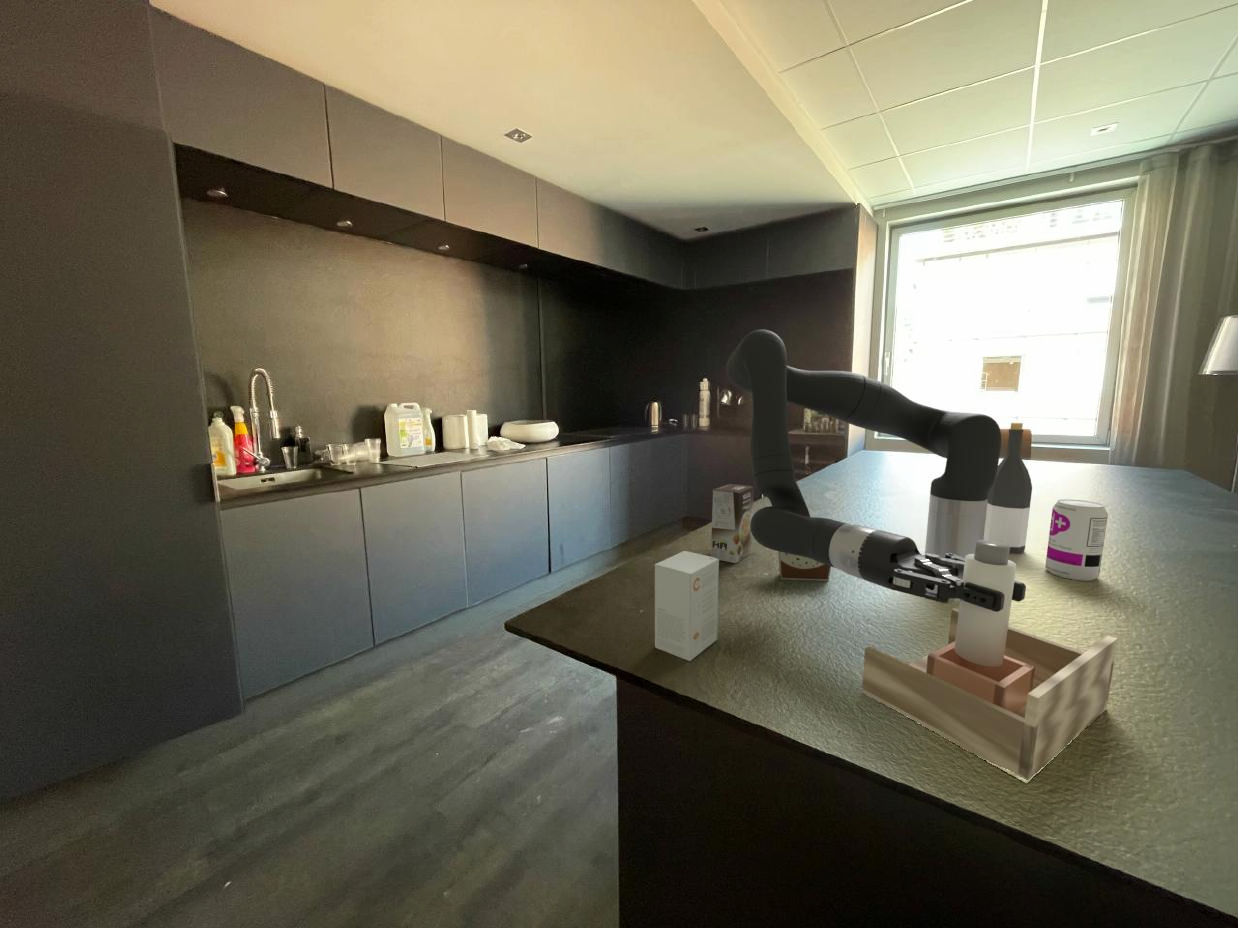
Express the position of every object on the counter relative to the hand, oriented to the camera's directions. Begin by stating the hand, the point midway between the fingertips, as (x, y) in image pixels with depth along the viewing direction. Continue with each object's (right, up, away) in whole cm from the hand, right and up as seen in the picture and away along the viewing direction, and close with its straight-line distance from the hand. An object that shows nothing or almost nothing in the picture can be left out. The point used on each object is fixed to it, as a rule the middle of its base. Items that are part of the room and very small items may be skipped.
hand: (1012, 597), depth 56 cm
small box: (-35, -12, +18) cm, 41 cm away
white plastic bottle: (-1, -8, +3) cm, 9 cm away
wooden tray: (-1, -14, +4) cm, 14 cm away
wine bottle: (+47, -5, +62) cm, 78 cm away
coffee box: (-19, -6, +57) cm, 61 cm away
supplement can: (+48, -8, +45) cm, 66 cm away
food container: (-7, -8, +46) cm, 47 cm away
